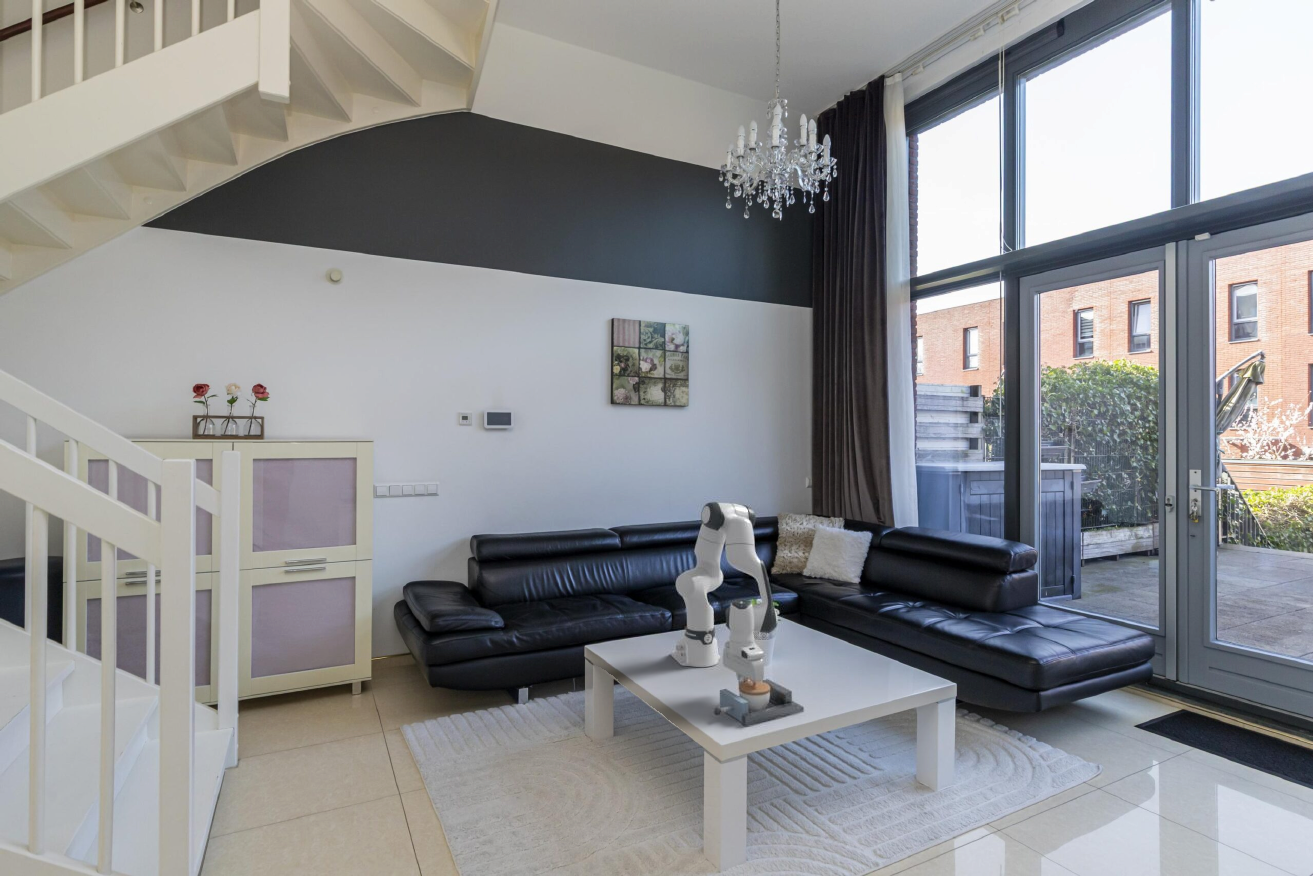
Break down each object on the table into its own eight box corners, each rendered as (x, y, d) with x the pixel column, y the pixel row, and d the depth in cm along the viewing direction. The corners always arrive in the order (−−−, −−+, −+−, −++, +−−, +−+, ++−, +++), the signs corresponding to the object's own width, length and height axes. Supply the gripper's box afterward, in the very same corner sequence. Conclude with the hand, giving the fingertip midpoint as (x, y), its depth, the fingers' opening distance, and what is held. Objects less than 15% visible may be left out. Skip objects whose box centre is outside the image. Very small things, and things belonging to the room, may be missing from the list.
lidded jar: (732, 709, 225) (732, 681, 225) (751, 700, 232) (751, 673, 232) (757, 718, 217) (757, 690, 217) (776, 708, 224) (776, 681, 224)
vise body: (718, 709, 224) (718, 690, 224) (774, 695, 236) (774, 677, 236) (745, 726, 211) (745, 706, 211) (803, 711, 222) (803, 692, 222)
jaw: (702, 712, 221) (702, 694, 221) (726, 706, 226) (726, 688, 226) (724, 727, 210) (723, 708, 210) (749, 720, 214) (748, 701, 214)
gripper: (718, 640, 238) (718, 679, 238) (751, 657, 220) (752, 698, 220) (732, 638, 241) (733, 675, 241) (767, 654, 223) (767, 694, 223)
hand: (742, 686), depth 231 cm, fingers closed
